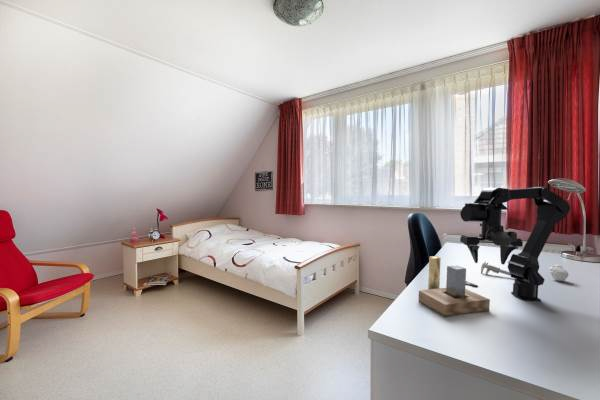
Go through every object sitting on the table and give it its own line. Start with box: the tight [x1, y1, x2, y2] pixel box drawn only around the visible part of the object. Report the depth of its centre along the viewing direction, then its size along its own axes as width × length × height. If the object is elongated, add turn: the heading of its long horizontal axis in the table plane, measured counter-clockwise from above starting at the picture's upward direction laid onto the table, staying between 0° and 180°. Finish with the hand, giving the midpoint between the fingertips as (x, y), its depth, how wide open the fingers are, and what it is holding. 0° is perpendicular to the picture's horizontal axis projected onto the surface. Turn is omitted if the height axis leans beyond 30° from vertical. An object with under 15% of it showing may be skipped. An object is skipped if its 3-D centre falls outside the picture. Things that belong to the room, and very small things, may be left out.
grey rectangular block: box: [445, 265, 467, 299], centre depth 92 cm, size 4×4×13 cm
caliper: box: [480, 261, 511, 277], centre depth 124 cm, size 20×1×6 cm, turn 55°
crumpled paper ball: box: [548, 264, 570, 282], centre depth 120 cm, size 6×7×7 cm
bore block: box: [418, 287, 491, 318], centre depth 92 cm, size 18×12×4 cm, turn 105°
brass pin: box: [427, 255, 441, 290], centre depth 107 cm, size 4×4×13 cm
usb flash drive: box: [465, 280, 479, 288], centre depth 115 cm, size 9×5×1 cm, turn 18°
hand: (489, 263), depth 99 cm, fingers open, 9 cm apart
